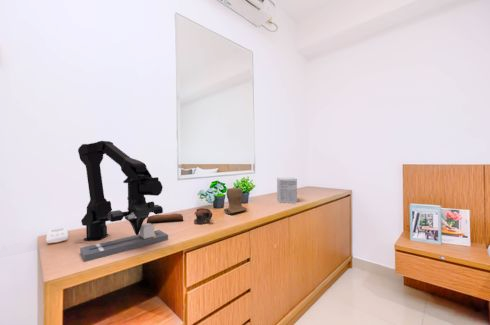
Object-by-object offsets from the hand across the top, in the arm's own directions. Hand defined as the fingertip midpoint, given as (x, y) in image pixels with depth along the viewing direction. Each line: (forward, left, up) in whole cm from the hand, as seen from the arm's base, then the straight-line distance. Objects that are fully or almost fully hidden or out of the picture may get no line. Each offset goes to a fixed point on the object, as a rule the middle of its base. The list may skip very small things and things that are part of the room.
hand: (137, 234), depth 88 cm
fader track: (-3, -2, -4) cm, 5 cm away
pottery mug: (+21, +29, -4) cm, 36 cm away
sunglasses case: (0, +33, -4) cm, 33 cm away
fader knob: (+3, +3, -1) cm, 4 cm away
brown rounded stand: (+36, +50, -4) cm, 62 cm away
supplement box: (+75, +82, -4) cm, 111 cm away
